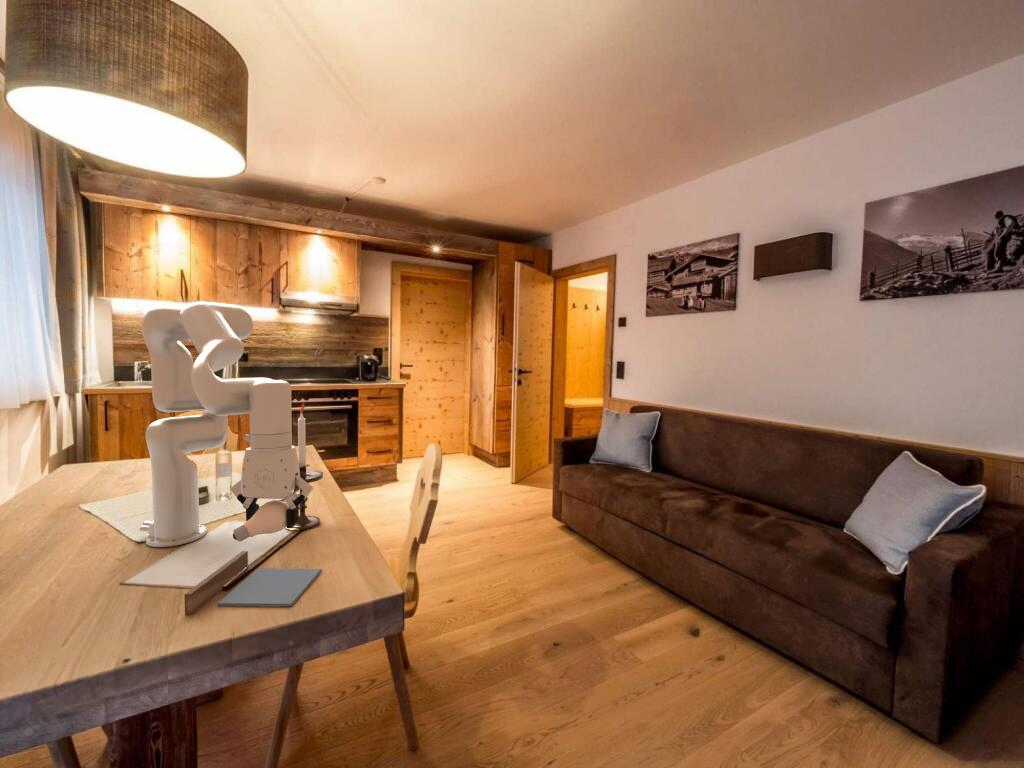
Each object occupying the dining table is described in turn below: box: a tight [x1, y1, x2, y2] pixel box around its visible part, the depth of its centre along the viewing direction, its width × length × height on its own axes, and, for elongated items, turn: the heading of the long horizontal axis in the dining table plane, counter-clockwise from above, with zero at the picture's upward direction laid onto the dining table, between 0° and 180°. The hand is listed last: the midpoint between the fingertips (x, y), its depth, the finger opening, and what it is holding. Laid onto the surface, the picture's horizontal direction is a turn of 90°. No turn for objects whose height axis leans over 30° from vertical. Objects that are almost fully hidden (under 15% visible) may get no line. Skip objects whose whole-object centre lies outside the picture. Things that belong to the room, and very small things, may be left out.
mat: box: [217, 567, 322, 608], centre depth 92 cm, size 14×14×1 cm
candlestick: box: [286, 402, 324, 532], centre depth 125 cm, size 11×11×35 cm
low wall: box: [183, 550, 249, 616], centre depth 91 cm, size 1×18×4 cm, turn 1°
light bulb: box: [232, 499, 289, 543], centre depth 89 cm, size 7×7×11 cm
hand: (272, 525), depth 91 cm, fingers closed on light bulb, 7 cm apart
